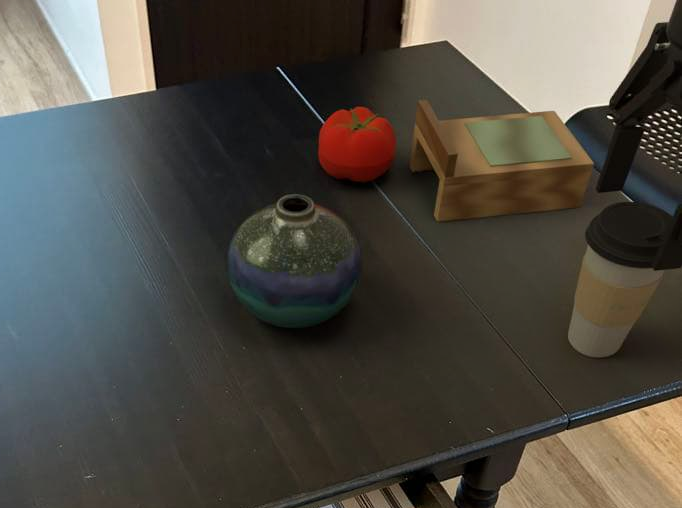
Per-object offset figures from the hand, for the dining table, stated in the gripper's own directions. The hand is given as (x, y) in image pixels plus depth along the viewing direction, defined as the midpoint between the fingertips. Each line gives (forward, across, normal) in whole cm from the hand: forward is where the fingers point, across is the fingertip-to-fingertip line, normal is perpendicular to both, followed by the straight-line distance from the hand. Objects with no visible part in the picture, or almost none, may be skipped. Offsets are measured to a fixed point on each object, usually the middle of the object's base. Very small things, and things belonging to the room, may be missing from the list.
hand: (635, 227), depth 83 cm
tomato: (+15, -40, -19) cm, 47 cm away
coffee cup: (+15, 0, 0) cm, 15 cm away
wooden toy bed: (+15, -33, -1) cm, 36 cm away
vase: (+15, -12, -33) cm, 38 cm away
